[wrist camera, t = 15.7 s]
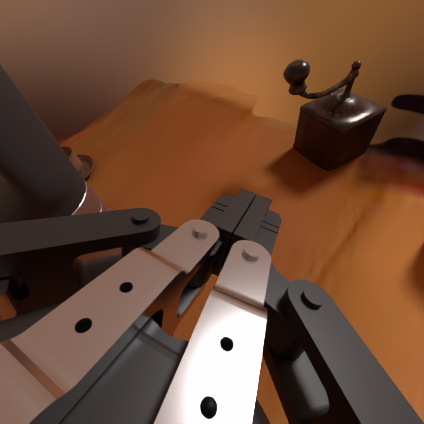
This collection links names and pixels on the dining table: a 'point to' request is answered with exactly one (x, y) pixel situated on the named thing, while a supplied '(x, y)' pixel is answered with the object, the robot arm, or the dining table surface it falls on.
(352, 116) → the dark brown coffee grinder
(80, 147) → the dining table surface
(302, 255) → the dining table surface
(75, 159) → the cup and saucer
